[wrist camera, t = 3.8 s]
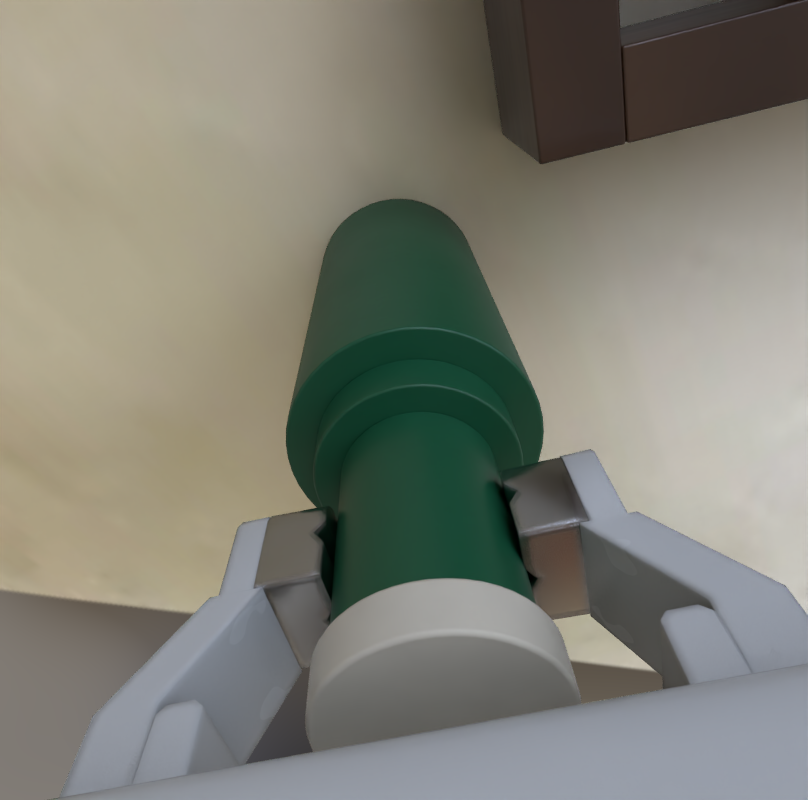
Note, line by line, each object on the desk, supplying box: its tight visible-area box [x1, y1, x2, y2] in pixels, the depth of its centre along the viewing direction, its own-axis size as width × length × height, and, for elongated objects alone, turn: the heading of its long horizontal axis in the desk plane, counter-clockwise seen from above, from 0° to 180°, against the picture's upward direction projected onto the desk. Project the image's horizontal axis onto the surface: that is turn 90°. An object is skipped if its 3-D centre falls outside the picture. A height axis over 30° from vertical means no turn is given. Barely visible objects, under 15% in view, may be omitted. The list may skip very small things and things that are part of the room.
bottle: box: [286, 199, 581, 752], centre depth 14 cm, size 5×5×16 cm
